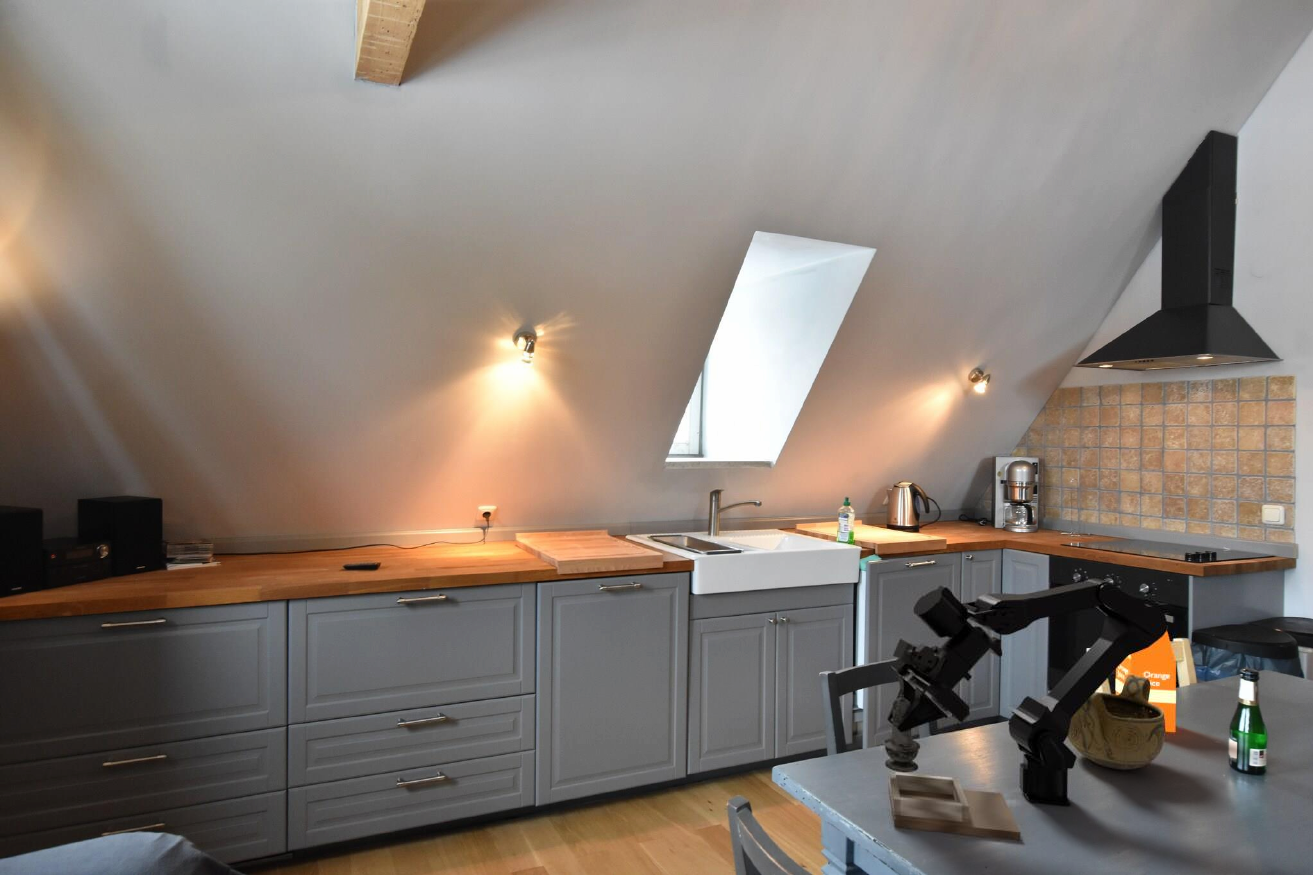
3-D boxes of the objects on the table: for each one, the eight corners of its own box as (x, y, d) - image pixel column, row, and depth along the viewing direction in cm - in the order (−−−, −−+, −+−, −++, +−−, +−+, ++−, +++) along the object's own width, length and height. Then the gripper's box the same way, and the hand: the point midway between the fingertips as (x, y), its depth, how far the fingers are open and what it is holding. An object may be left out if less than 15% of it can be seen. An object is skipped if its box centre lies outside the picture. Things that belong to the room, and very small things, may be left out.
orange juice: (1115, 717, 179) (1115, 625, 179) (1158, 720, 178) (1159, 627, 178) (1130, 729, 171) (1131, 633, 171) (1176, 732, 170) (1177, 635, 170)
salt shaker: (926, 772, 133) (926, 698, 133) (891, 773, 132) (891, 699, 132) (911, 757, 139) (911, 686, 139) (877, 759, 138) (877, 688, 138)
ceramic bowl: (1131, 793, 139) (1132, 704, 140) (1035, 761, 153) (1036, 680, 153) (1188, 764, 153) (1189, 683, 153) (1095, 737, 166) (1095, 663, 166)
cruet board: (1001, 800, 136) (1001, 778, 136) (1020, 840, 122) (1020, 815, 122) (888, 789, 140) (888, 768, 140) (894, 826, 126) (894, 803, 126)
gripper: (901, 611, 145) (841, 676, 144) (949, 636, 127) (880, 711, 125) (945, 654, 146) (885, 719, 145) (999, 685, 127) (931, 760, 126)
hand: (893, 725), depth 135 cm, fingers closed on salt shaker, 4 cm apart
